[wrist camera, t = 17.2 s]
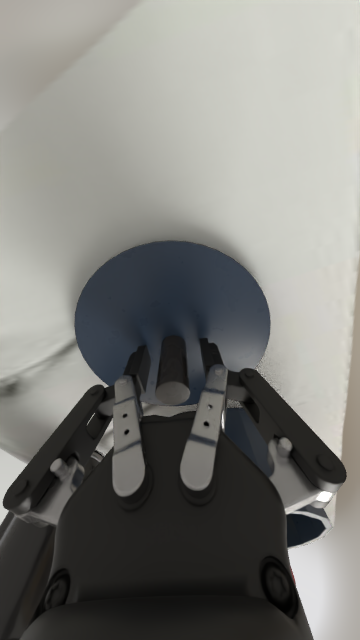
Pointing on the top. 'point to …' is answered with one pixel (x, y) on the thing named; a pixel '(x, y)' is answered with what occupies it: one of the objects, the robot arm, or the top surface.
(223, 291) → the lid
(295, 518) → the pot
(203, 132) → the top surface
